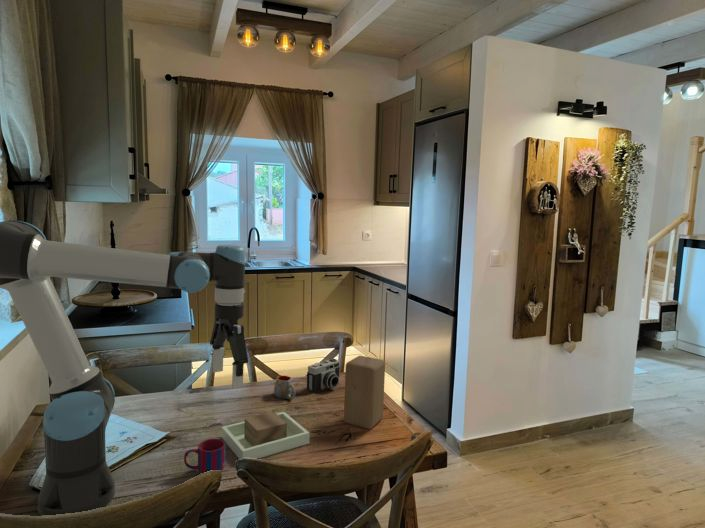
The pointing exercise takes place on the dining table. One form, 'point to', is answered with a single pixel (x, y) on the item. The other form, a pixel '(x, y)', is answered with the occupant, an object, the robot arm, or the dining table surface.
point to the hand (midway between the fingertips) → (227, 379)
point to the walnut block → (264, 428)
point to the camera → (323, 375)
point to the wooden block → (364, 391)
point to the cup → (209, 455)
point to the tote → (244, 449)
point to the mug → (284, 388)
